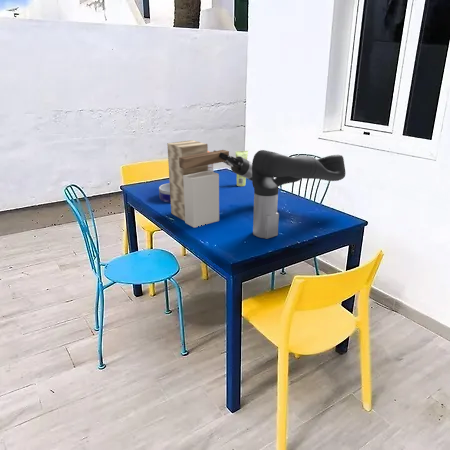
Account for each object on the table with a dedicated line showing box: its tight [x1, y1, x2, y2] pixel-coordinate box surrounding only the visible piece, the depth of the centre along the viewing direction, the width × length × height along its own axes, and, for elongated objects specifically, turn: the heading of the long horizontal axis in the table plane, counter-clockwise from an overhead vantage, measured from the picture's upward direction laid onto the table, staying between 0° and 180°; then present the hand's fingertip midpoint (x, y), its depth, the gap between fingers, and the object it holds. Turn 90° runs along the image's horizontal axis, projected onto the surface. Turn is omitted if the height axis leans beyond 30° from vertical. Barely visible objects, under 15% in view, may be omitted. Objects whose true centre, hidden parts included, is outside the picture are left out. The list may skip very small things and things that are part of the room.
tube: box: [235, 150, 249, 187], centre depth 216 cm, size 6×5×20 cm
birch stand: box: [166, 139, 209, 222], centre depth 172 cm, size 12×12×32 cm
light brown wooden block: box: [179, 149, 230, 169], centre depth 160 cm, size 4×22×4 cm, turn 128°
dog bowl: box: [158, 182, 171, 203], centre depth 199 cm, size 15×15×6 cm
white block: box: [183, 171, 220, 229], centre depth 165 cm, size 7×13×21 cm, turn 127°
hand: (216, 153), depth 163 cm, fingers closed on light brown wooden block, 4 cm apart
